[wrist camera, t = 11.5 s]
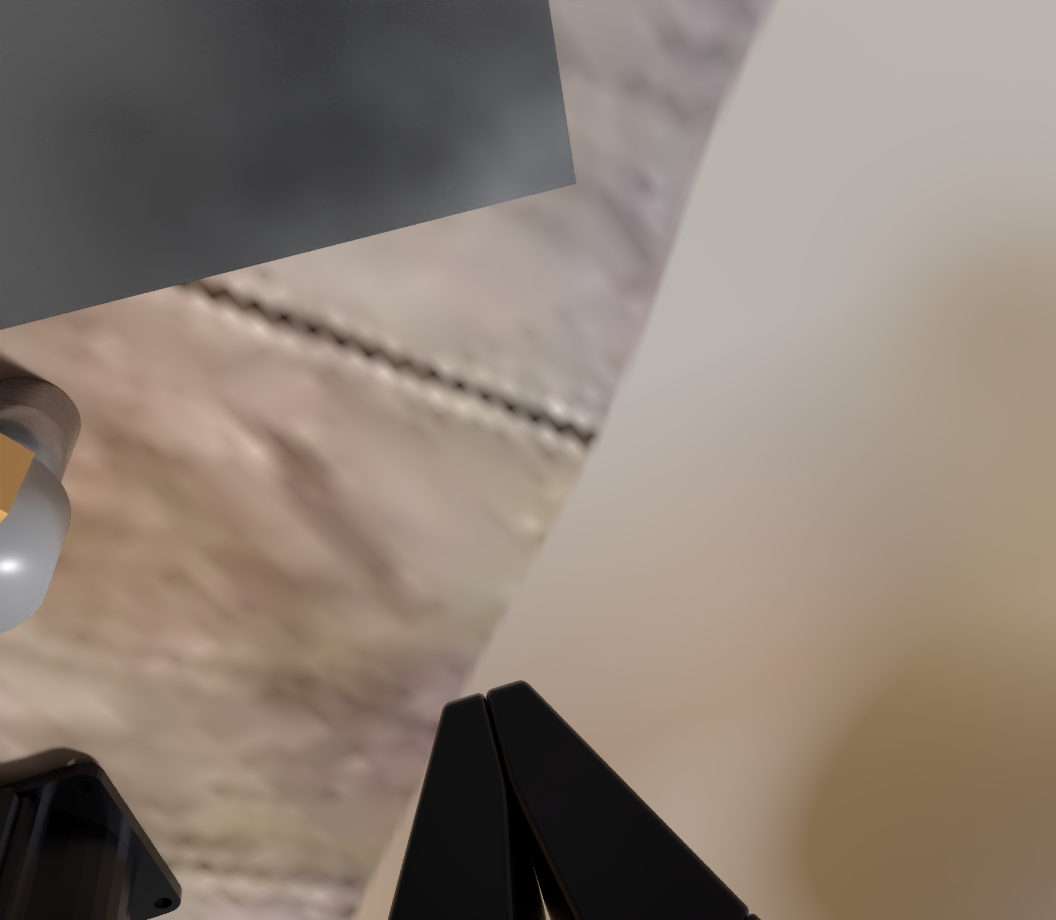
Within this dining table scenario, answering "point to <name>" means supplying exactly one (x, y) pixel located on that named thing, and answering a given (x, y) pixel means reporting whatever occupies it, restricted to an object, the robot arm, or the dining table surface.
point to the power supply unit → (247, 143)
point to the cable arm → (27, 531)
